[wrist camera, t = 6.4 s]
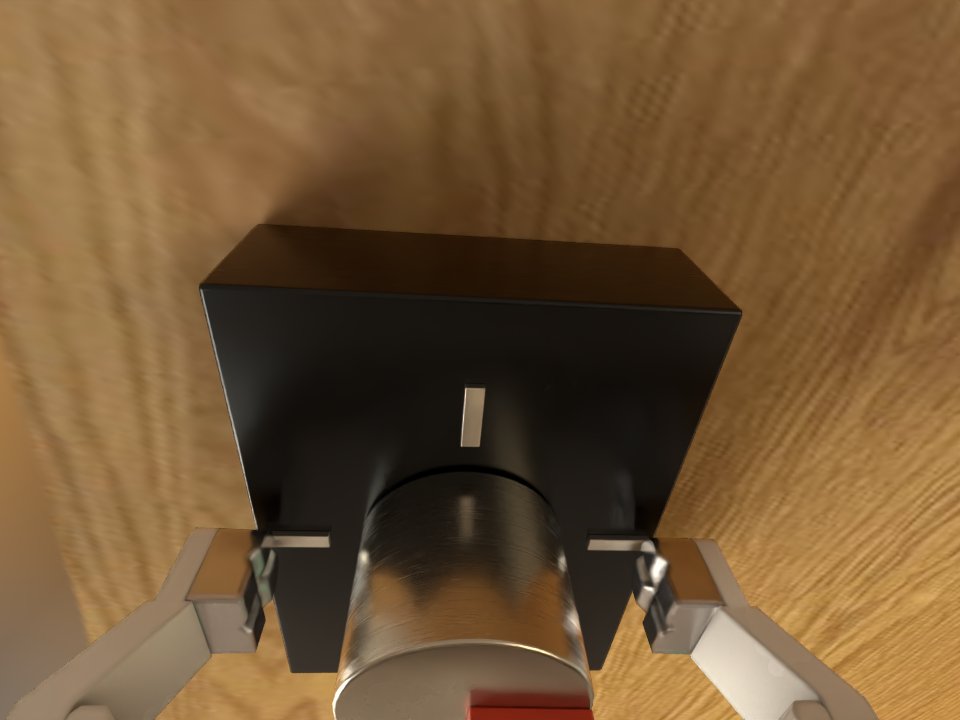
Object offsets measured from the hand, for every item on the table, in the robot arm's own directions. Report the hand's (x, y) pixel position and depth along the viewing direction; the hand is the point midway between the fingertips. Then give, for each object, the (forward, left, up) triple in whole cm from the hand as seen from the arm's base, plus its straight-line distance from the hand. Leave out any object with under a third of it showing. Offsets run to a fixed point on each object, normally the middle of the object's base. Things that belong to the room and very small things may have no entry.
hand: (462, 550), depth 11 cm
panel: (0, 0, -3) cm, 3 cm away
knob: (0, 0, 0) cm, 0 cm away
